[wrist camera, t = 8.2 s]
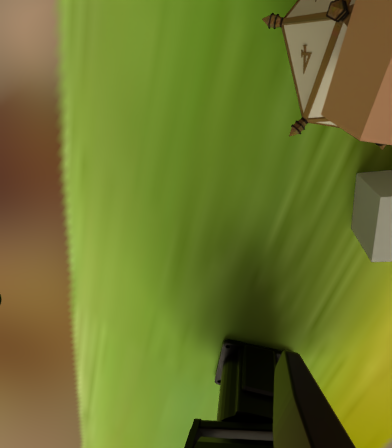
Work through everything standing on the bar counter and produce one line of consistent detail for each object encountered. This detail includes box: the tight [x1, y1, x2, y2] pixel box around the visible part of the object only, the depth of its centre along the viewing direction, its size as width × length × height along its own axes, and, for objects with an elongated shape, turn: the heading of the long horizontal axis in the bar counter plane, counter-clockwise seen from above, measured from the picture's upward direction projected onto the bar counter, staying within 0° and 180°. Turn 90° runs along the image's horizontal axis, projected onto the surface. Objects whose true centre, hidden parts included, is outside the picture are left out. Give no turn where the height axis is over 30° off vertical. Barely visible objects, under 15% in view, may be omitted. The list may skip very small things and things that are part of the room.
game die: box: [262, 0, 387, 150], centre depth 11 cm, size 9×8×10 cm
